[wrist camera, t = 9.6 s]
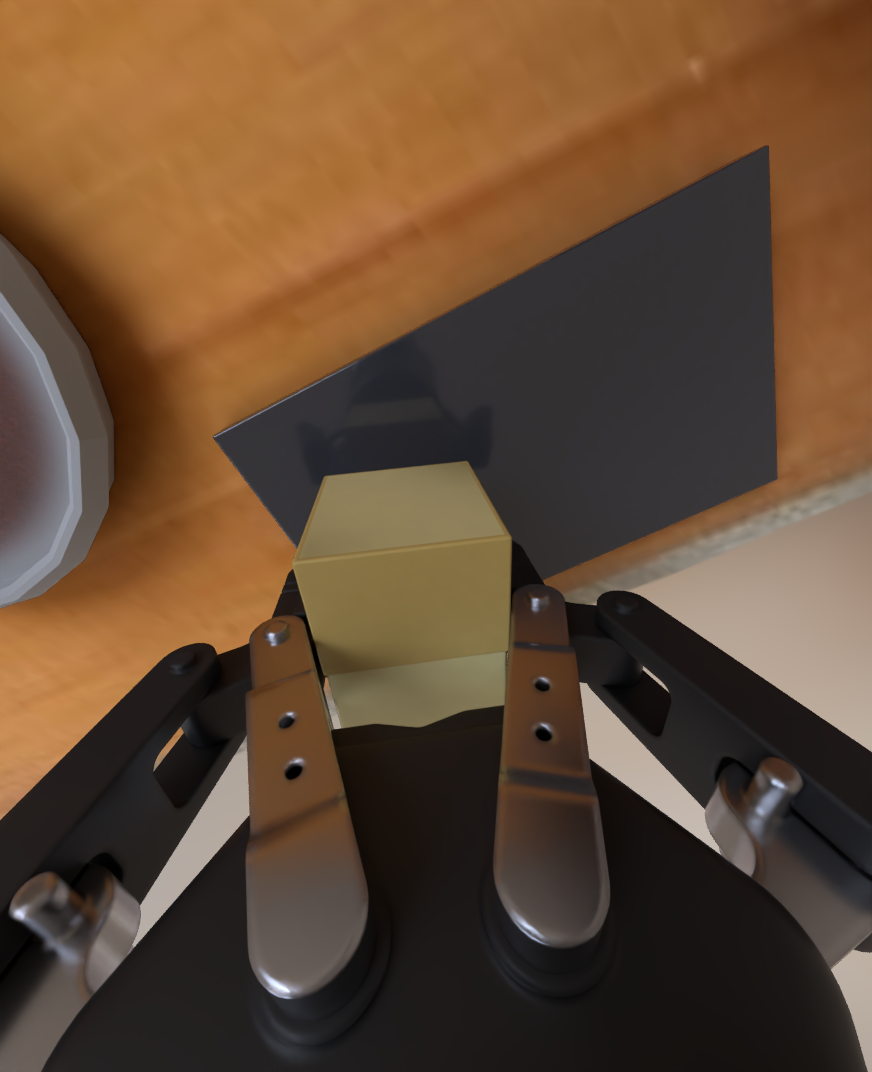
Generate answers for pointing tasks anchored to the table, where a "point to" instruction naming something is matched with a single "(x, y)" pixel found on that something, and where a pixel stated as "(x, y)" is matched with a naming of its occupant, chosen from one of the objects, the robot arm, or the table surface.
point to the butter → (407, 593)
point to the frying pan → (46, 436)
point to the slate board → (566, 384)
